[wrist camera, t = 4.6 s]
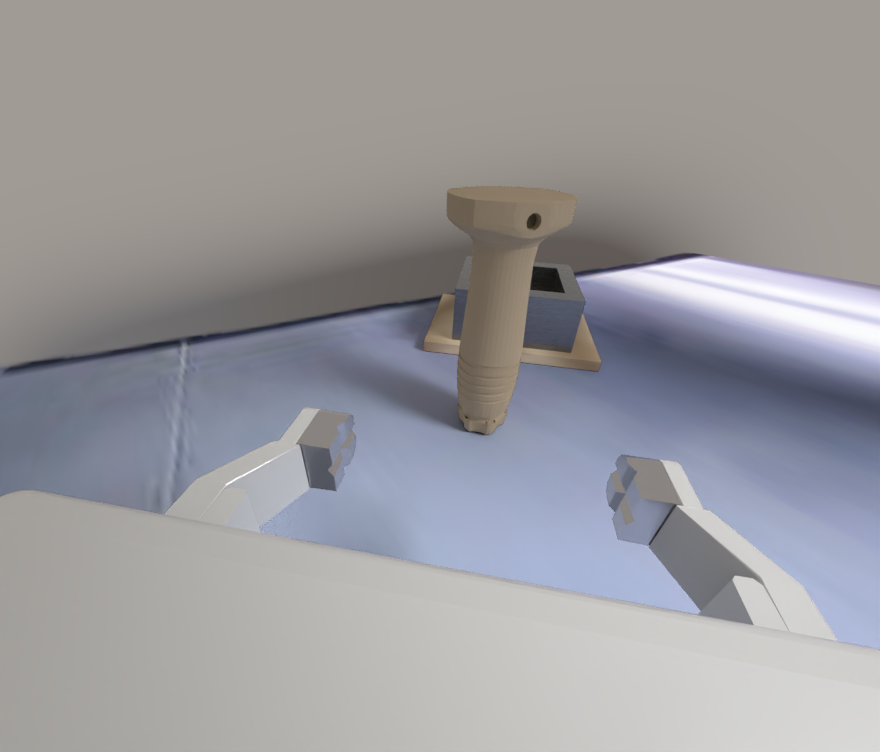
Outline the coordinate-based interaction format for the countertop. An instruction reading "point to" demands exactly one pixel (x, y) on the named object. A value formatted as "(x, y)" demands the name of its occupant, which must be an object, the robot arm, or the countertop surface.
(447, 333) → the base board
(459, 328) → the square frame
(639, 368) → the countertop surface
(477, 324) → the handle
